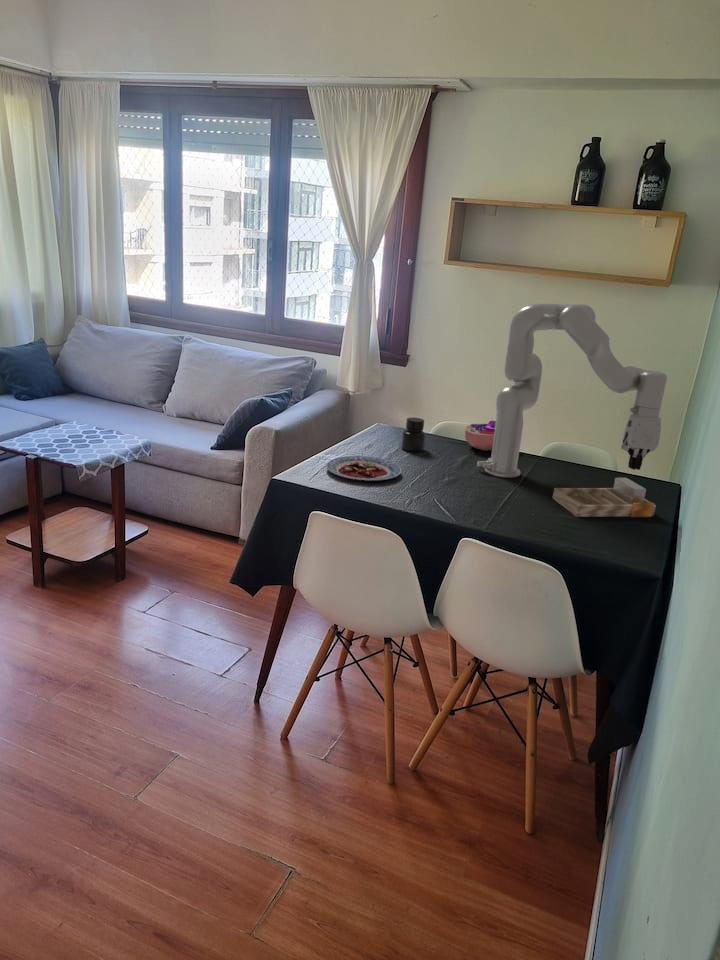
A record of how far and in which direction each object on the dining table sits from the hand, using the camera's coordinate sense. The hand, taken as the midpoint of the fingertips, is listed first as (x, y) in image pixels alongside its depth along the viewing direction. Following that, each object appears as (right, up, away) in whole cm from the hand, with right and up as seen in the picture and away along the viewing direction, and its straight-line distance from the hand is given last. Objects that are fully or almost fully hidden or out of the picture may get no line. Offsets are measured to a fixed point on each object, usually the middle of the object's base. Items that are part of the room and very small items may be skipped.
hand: (634, 468), depth 211 cm
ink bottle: (-66, +8, +51) cm, 84 cm away
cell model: (-36, +9, +59) cm, 69 cm away
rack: (-9, -12, +2) cm, 16 cm away
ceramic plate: (-86, -2, +19) cm, 88 cm away
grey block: (-1, -11, +4) cm, 12 cm away
